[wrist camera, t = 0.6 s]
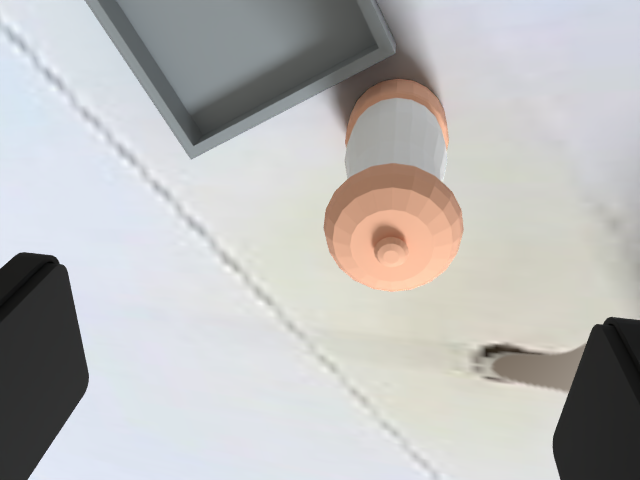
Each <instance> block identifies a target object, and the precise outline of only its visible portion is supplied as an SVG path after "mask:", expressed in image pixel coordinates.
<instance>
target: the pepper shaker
mask: <svg viewBox="0 0 640 480" xmlns="http://www.w3.org/2000/svg"><path fill="white" fill-rule="evenodd" d="M448 143H449V138H448V129H447V122H446V117H445V112H444V110H443V108H442V106H441V104H440V102H439V99H438V98H437V97H436V96H435V95H434V94H433V93H432V92H431V91H430V90H429V89H428V88H427V87H425V86H423V85H421V84H419V83H417V82H415V81H412V80H405V79H392V80H387V81H382V82H380V83H378V84H376V85H374V86H372V87H371V88H369V89H367V91H366V92H365V93H364V94H363V95H362V96H361V97H360V98H359V99H358V100H357V102H356V104H355V106H354V108H353V110H352V112H351V115H350V119H349V122H348V126H347V132H346V140H345V144H346V155H345V166H346V172H347V178H348V179H347V180H346V181H345V182H344V183H343V184H342V185H341V186H340V187H339V188H338V189H337V190H336V191H335V192H334V194H333V196H332V198H331V200H330V202H329V204H328V206H327V208H326V213H325V221H324V231H325V236H326V240H327V244H328V248H329V252H330V254H331V255H332V257H333V258H334V260H335V261H336V263H337V265H338V266H339V268H340V269H342V270H343V271H344V272H345V273H346V274H347V275H349V276H350V277H351V278H352V279H353V280H355V281H357V282H359V283H362V284H364V285H366V286H368V287H371V288H373V289H378V290H385V291H391V292H393V291H402V290H411V289H414V288H416V287H419V286H421V285H424V284H427V283H429V282H431V281H432V280H434V279H435V278H436V277H438V276H439V275H440V274H441V273H443V272H444V271H445V270H446V269H447V268H448V266H449V265H450V263H451V262H452V260H453V259H454V257H455V256H456V254H457V252H458V249H459V246H460V242H461V238H462V234H463V230H464V229H463V220H462V211H461V208H460V206H459V204H458V202H457V200H456V198H455V196H454V194H453V193H452V191H451V190H450V189H449V188H448V187H447V186H445V185H444V184H443V183H442V182H443V178H444V174H445V170H446V166H447V161H448V160H447V147H448Z"/></svg>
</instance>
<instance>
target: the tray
mask: <svg viewBox="0 0 640 480" xmlns="http://www.w3.org/2000/svg"><path fill="white" fill-rule="evenodd" d="M85 1H86V3H87V4H88V6H89V7H90V9H91V10H92V12H93V13H94V15H95V16H96V18H97V19H98V21H99V22H100V24H101V25H102V27H103V28H104V30H105V31H106V33H107V34H108V36H109V37H110V39H111V40H112V42H113V43H114V45H115V46H116V48H117V49H118V51H119V52H120V54H121V55H122V57H123V58H124V60H125V61H126V63H127V64H128V66H129V67H130V69H131V70H132V72H133V73H134V75H135V76H136V78H137V79H138V81H139V82H140V84H141V85H142V87H143V88H144V90H145V91H146V93H147V94H148V96H149V97H150V99H151V100H152V102H153V103H154V105H155V106H156V108H157V109H158V111H159V112H160V114H161V115H162V117H163V118H164V120H165V121H166V123H167V124H168V126H169V127H170V129H171V130H172V132H173V133H174V135H175V136H176V138H177V139H178V141H179V142H180V144H181V145H182V147H183V148H184V150H185V151H186V153H187V154H188V156H189V157H190V159H193V158H195V157H197V156H199V155H201V154H203V153H205V152H207V151H209V150H210V149H212V148H214V147H216V146H218V145H220V144H222V143H224V142H226V141H228V140H230V139H232V138H234V137H236V136H237V135H239V134H241V133H243V132H245V131H247V130H249V129H251V128H253V127H255V126H257V125H259V124H261V123H263V122H264V121H266V120H268V119H270V118H272V117H274V116H276V115H278V114H280V113H282V112H284V111H286V110H288V109H290V108H291V107H293V106H295V105H297V104H299V103H301V102H303V101H305V100H307V99H309V98H311V97H313V96H315V95H317V94H318V93H320V92H322V91H324V90H326V89H328V88H330V87H332V86H334V85H336V84H338V83H340V82H342V81H344V80H345V79H347V78H349V77H351V76H353V75H355V74H357V73H359V72H361V71H363V70H365V69H367V68H369V67H371V66H372V65H374V64H376V63H378V62H380V61H382V60H384V59H386V58H388V57H390V56H392V55H394V54H395V52H396V43H395V41H394V38H393V36H392V34H391V32H390V30H389V28H388V26H387V23H386V21H385V19H384V17H383V15H382V13H381V10H380V8H379V6H378V4H377V2H376V0H85Z"/></svg>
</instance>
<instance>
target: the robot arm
mask: <svg viewBox="0 0 640 480" xmlns="http://www.w3.org/2000/svg"><path fill="white" fill-rule="evenodd" d="M88 382H89V373H88V368H87V363H86V359H85V354H84V349H83V344H82V339H81V334H80V329H79V325H78V320H77V315H76V310H75V305H74V300H73V295H72V291H71V286H70V281H69V276H68V272H67V269H66V267H65V266H64V265H62V264H59V261H58V260H57V258H56V257H54V256H52V255H44V254H35V253H26V252H23V253H19V254H17V255H16V256H14V257H13V258H12V259H11V260H10V261H9V262H8V263H6V264H5V265H4V266H3V267H2V268H1V269H0V480H28V478H29V477H30V475H31V474H32V472H33V471H34V469H35V468H36V466H37V465H38V463H39V461H40V460H41V458H42V457H43V455H44V454H45V452H46V451H47V449H48V448H49V446H50V445H51V443H52V442H53V440H54V439H55V437H56V436H57V434H58V433H59V431H60V430H61V428H62V427H63V425H64V424H65V422H66V421H67V419H68V418H69V416H70V415H71V413H72V412H73V410H74V409H75V407H76V406H77V404H78V403H79V401H80V400H81V398H82V397H83V395H84V394H85V392H86V389H87V386H88ZM553 454H554V458H555V462H556V465H557V469H558V472H559V476H560V479H561V480H640V320H634V319H625V318H616V317H610V318H607V319H606V320H605V322H604V324H603V325H601V324H596V325H595V326H594V327H593V328H592V331H591V333H590V336H589V339H588V341H587V344H586V347H585V350H584V352H583V355H582V358H581V361H580V363H579V366H578V369H577V372H576V374H575V377H574V380H573V383H572V386H571V389H570V391H569V394H568V397H567V399H566V402H565V405H564V408H563V410H562V413H561V416H560V419H559V421H558V424H557V427H556V430H555V433H554V436H553Z"/></svg>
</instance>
